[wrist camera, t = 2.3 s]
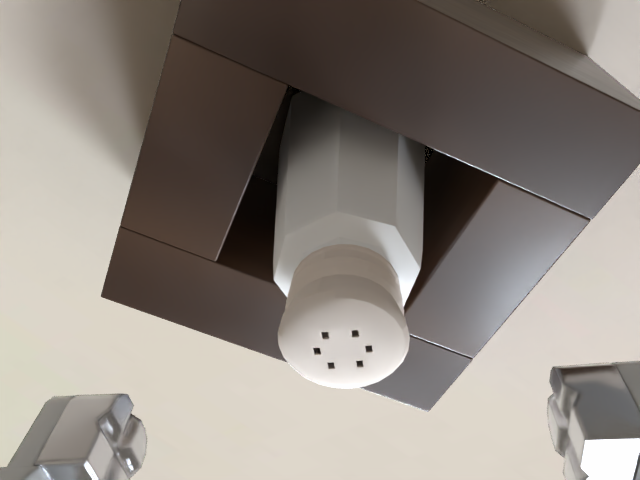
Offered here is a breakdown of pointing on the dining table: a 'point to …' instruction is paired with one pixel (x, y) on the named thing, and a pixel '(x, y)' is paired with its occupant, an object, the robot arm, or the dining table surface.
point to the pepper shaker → (345, 242)
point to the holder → (392, 113)
